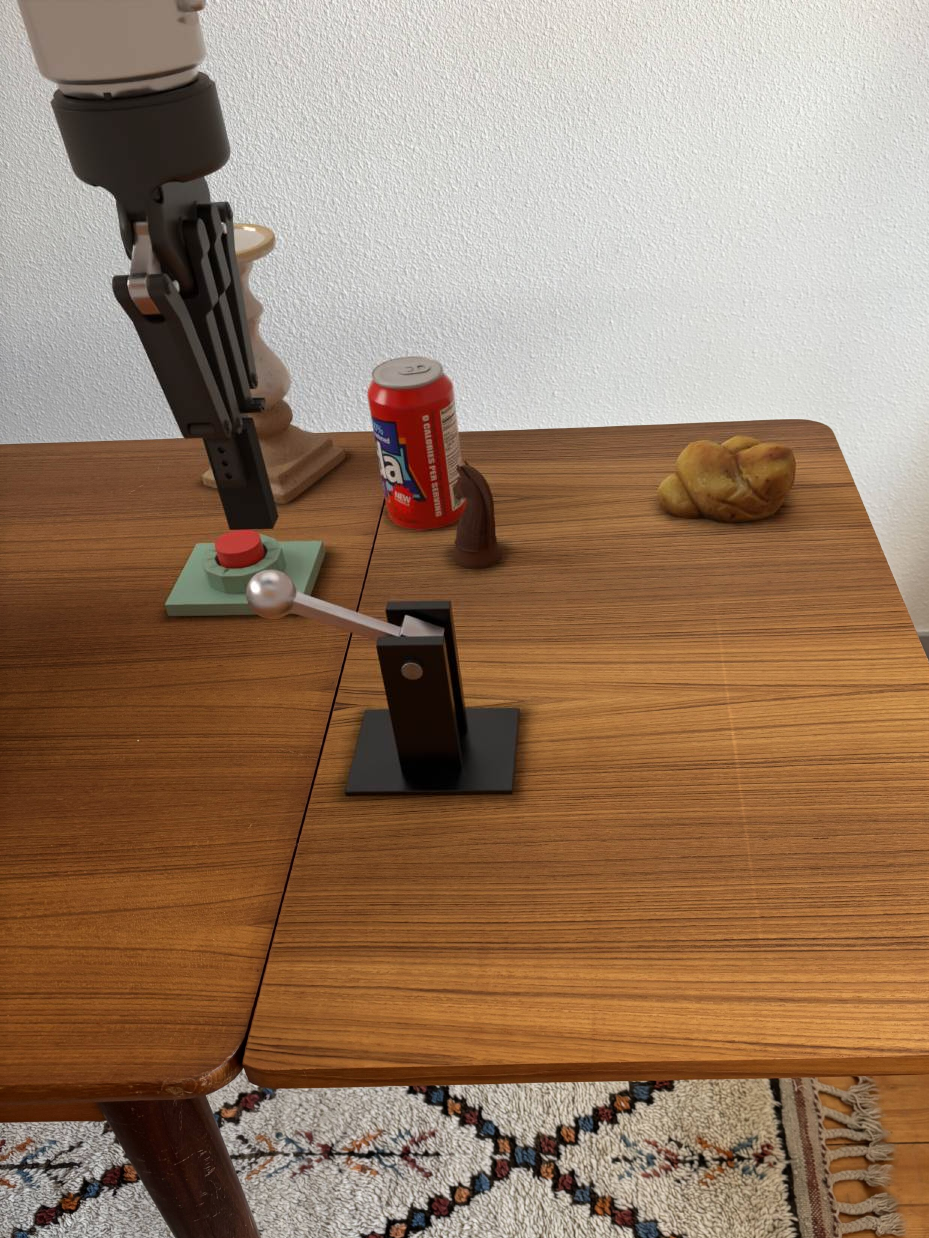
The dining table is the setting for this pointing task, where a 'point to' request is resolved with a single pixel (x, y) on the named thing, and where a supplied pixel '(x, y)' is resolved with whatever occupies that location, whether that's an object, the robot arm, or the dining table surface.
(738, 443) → the bread roll
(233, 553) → the button
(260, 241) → the candle holder
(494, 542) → the chess piece
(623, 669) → the dining table surface
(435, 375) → the soda can
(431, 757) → the lever stand
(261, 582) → the silver lever handle
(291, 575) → the button block
